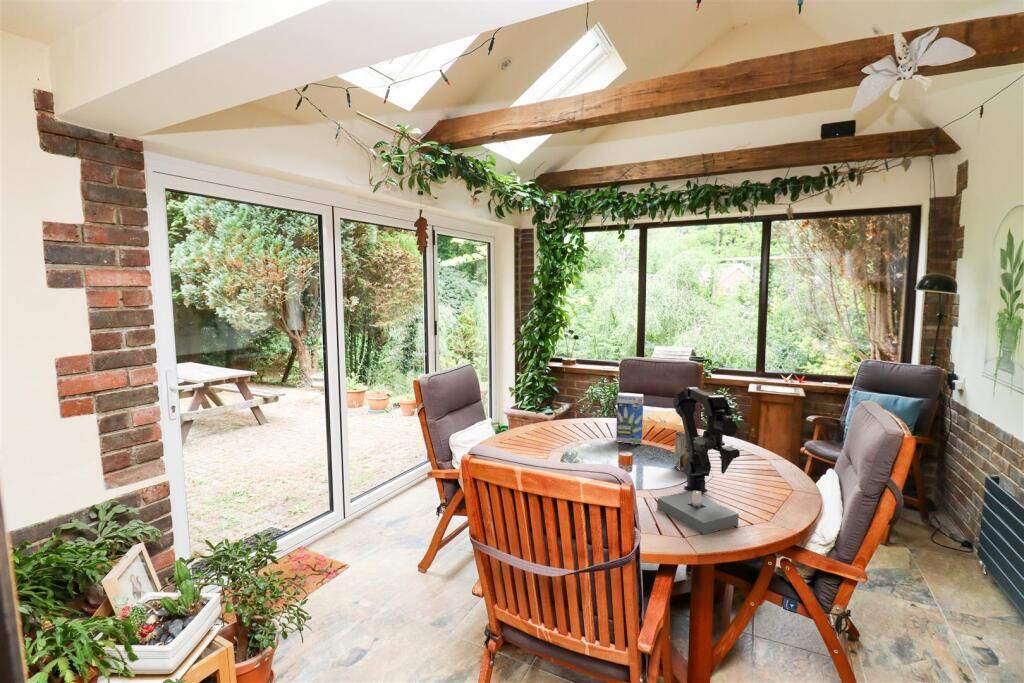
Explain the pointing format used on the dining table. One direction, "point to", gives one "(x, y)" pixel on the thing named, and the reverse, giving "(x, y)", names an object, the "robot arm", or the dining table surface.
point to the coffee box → (681, 450)
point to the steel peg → (696, 499)
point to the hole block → (698, 512)
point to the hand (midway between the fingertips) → (713, 469)
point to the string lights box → (629, 417)
